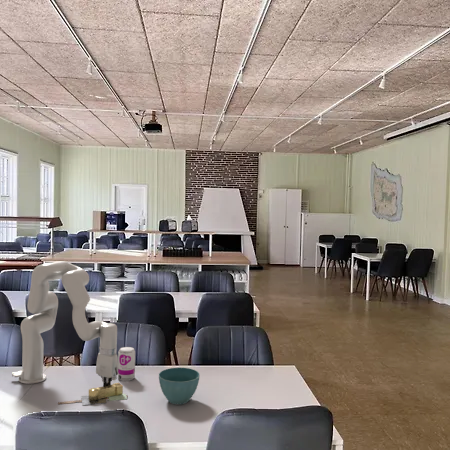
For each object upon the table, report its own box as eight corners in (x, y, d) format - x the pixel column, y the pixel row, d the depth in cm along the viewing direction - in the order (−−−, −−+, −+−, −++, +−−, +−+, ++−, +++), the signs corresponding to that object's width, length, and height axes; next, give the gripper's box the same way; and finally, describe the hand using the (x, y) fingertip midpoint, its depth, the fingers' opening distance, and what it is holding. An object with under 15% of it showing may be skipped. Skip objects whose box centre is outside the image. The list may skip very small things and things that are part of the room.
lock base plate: (82, 405, 213) (82, 405, 213) (81, 396, 222) (81, 396, 222) (106, 403, 216) (106, 402, 216) (103, 394, 226) (103, 393, 226)
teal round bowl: (182, 413, 209) (183, 384, 208) (149, 402, 219) (150, 375, 218) (206, 399, 224) (207, 372, 224) (174, 390, 234) (175, 364, 233)
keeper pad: (109, 401, 219) (109, 400, 219) (107, 395, 224) (107, 395, 224) (127, 399, 221) (127, 398, 221) (125, 394, 227) (125, 393, 227)
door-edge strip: (58, 404, 213) (58, 404, 213) (57, 402, 215) (57, 402, 215) (127, 397, 224) (127, 396, 224) (127, 395, 225) (127, 395, 225)
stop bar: (90, 401, 216) (91, 392, 216) (86, 398, 220) (87, 389, 219) (122, 394, 225) (122, 385, 225) (118, 391, 229) (118, 382, 229)
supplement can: (130, 382, 242) (131, 352, 242) (115, 380, 244) (115, 350, 243) (137, 376, 250) (137, 347, 250) (121, 374, 252) (122, 345, 251)
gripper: (90, 349, 227) (89, 388, 228) (114, 356, 219) (113, 396, 220) (102, 345, 233) (101, 384, 234) (125, 352, 226) (124, 391, 226)
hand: (106, 390), depth 227 cm, fingers closed
